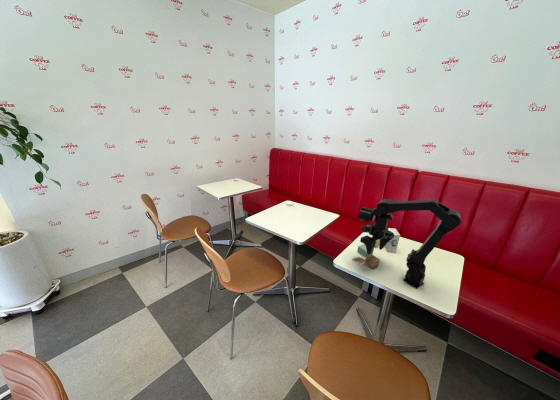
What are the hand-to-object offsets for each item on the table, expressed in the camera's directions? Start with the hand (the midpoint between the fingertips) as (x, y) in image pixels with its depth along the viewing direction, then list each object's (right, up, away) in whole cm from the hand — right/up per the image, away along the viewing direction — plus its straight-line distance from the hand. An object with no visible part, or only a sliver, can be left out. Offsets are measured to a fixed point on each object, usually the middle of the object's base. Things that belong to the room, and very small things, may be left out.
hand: (374, 251), depth 111 cm
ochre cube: (+10, -1, +23) cm, 25 cm away
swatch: (-5, -7, +7) cm, 11 cm away
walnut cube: (0, -8, +3) cm, 9 cm away
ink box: (+17, -3, +20) cm, 26 cm away
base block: (+1, -4, +14) cm, 15 cm away
